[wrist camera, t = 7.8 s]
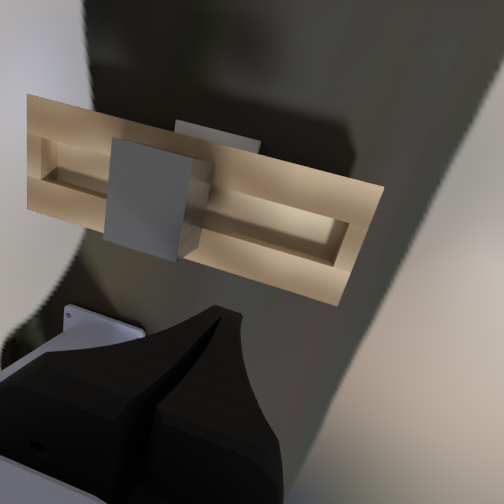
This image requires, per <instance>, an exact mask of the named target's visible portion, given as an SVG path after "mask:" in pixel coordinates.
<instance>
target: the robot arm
mask: <svg viewBox="0 0 504 504" xmlns="http://www.w3.org/2000/svg"><path fill="white" fill-rule="evenodd" d="M242 318H243V316H242V314H241V313H238V312H235V311H232V310H229V309H226V308H223V307H220V306H217V305H214V306H212V307H210V308H208V309H206V310H204V311H203V312H201V313H199V314H197V315H195V316H193V317H191V318H190V319H188V320H186V321H184V322H182V323H180V324H177V325H175V326H173V327H171V328H168V329H166V330H163V331H160V332H158V333H155V334H152V335H149V336H145V331H144V330H143V329H141V328H138V327H135V326H132V325H129V324H127V323H124V322H121V321H118V320H115V319H112V318H109V317H107V316H104V315H101V314H98V313H95V312H92V311H89V310H87V309H84V308H81V307H78V306H75V305H72V304H69V305H67V306H65V308H64V324H63V332H62V333H61V334H59V335H57V336H56V337H54V338H53V339H51V340H50V341H48V342H46V343H45V344H43V345H42V346H40V347H38V348H37V349H35V350H34V351H32V352H31V353H29V354H27V355H26V356H24V357H23V358H21V359H20V360H18V361H16V362H15V363H13V364H12V365H10V366H9V367H7V368H5V369H4V370H2V371H1V372H0V504H283V495H284V487H283V469H282V460H281V453H280V446H279V440H278V439H277V437H276V435H275V434H274V432H273V430H272V429H271V427H270V426H269V424H268V422H267V421H266V419H265V417H264V415H263V413H262V411H261V409H260V407H259V405H258V402H257V400H256V397H255V395H254V392H253V390H252V388H251V385H250V382H249V379H248V376H247V372H246V368H245V364H244V360H243V354H242V347H241V336H240V328H241V322H242ZM137 337H138V338H137Z"/></svg>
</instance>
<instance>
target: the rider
mask: <svg viewBox="0 0 504 504" xmlns="http://www.w3.org/2000/svg"><path fill="white" fill-rule="evenodd" d="M214 166H215V163H214V162H210V161H206V160H203V159H199V158H195V157H192V156H188V155H184V154H180V153H177V152H173V151H169V150H166V149H162V148H158V147H155V146H151V145H147V144H142V143H138V142H134V141H129V140H125V139H120V138H116V137H112V143H111V155H110V167H109V178H108V190H107V201H106V213H105V225H104V236H103V240H106V241H109V242H112V243H116V244H119V245H122V246H125V247H128V248H131V249H135V250H138V251H141V252H144V253H147V254H150V255H154V256H157V257H160V258H163V259H166V260H169V261H172V262H177V261H178V260H180V259H182V258H183V257H185V256H186V255H188V254H189V253H191V252H192V251H194V250H195V249H197V248H198V246H199V241H200V236H201V231H202V226H203V221H204V216H205V211H206V206H207V201H208V196H209V191H210V186H211V181H212V176H213V171H214Z"/></svg>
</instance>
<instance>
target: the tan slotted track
mask: <svg viewBox="0 0 504 504" xmlns="http://www.w3.org/2000/svg"><path fill="white" fill-rule="evenodd" d="M112 137H116V138H120V139H125V140H129V141H134V142H138V143H142V144H147V145H151V146H155V147H158V148H162V149H166V150H169V151H173V152H177V153H180V154H184V155H188V156H192V157H195V158H199V159H203V160H206V161H210V162H214V163H215V166H214V171H213V176H212V181H211V186H210V191H209V196H208V201H207V206H206V211H205V216H204V221H203V226H202V231H201V236H200V241H199V246H198V248H197V249H195V250H194V251H192V252H191V253H189V254H188V255H186V256H185V257H183V258H185V259H188V260H192V261H195V262H198V263H201V264H204V265H208V266H211V267H214V268H217V269H220V270H224V271H227V272H230V273H233V274H236V275H240V276H243V277H246V278H249V279H252V280H255V281H259V282H262V283H265V284H268V285H271V286H275V287H278V288H281V289H284V290H287V291H291V292H294V293H297V294H300V295H303V296H306V297H310V298H313V299H316V300H319V301H322V302H326V303H329V304H332V305H335V306H338V303H339V301H340V298H341V296H342V293H343V291H344V288H345V286H346V283H347V281H348V278H349V276H350V273H351V271H352V268H353V266H354V263H355V261H356V258H357V256H358V253H359V250H360V248H361V245H362V243H363V240H364V238H365V235H366V233H367V230H368V228H369V225H370V223H371V220H372V218H373V215H374V213H375V210H376V208H377V205H378V203H379V200H380V197H381V195H382V192H383V190H384V187H382V186H378V185H374V184H370V183H366V182H363V181H359V180H355V179H351V178H347V177H343V176H340V175H336V174H332V173H328V172H324V171H320V170H317V169H313V168H309V167H305V166H301V165H298V164H294V163H290V162H286V161H282V160H278V159H275V158H271V157H267V156H263V155H259V154H258V153H259V149H260V145H261V141H259V140H255V139H251V138H247V137H243V136H239V135H235V134H231V133H227V132H223V131H219V130H216V129H212V128H208V127H204V126H200V125H196V124H192V123H188V122H184V121H180V120H176V123H175V130H174V132H171V131H168V130H164V129H160V128H156V127H152V126H149V125H145V124H141V123H137V122H133V121H129V120H126V119H122V118H118V117H114V116H110V115H106V114H103V113H99V112H95V111H91V110H87V109H83V108H80V107H76V106H72V105H68V104H64V103H61V102H57V101H53V100H49V99H45V98H42V97H38V96H34V95H30V94H27V209H29V210H32V211H35V212H39V213H42V214H45V215H48V216H52V217H55V218H58V219H61V220H64V221H67V222H71V223H74V224H77V225H80V226H83V227H86V228H90V229H93V230H96V231H99V232H102V233H104V225H105V213H106V201H107V190H108V178H109V167H110V155H111V143H112Z"/></svg>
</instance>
